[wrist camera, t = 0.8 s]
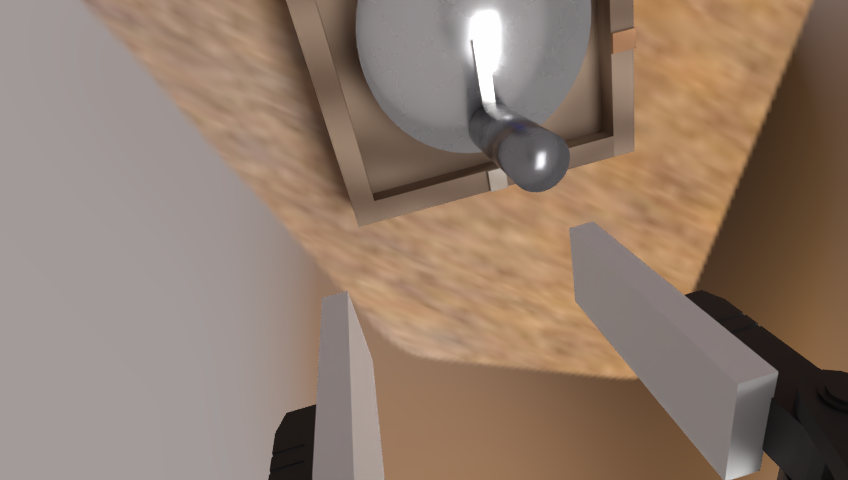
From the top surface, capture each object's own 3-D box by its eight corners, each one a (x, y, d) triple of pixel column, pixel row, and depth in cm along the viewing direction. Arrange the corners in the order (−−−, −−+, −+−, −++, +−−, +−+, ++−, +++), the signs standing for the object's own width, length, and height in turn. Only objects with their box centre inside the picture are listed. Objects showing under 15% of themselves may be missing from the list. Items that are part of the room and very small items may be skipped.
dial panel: (254, -117, 25) (241, -137, 22) (597, -198, 26) (634, -228, 23) (357, 207, 35) (359, 228, 31) (608, 139, 36) (636, 152, 32)
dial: (323, -72, 25) (315, -120, 16) (567, -132, 26) (687, -208, 17) (388, 168, 32) (407, 228, 23) (582, 116, 32) (674, 154, 23)
